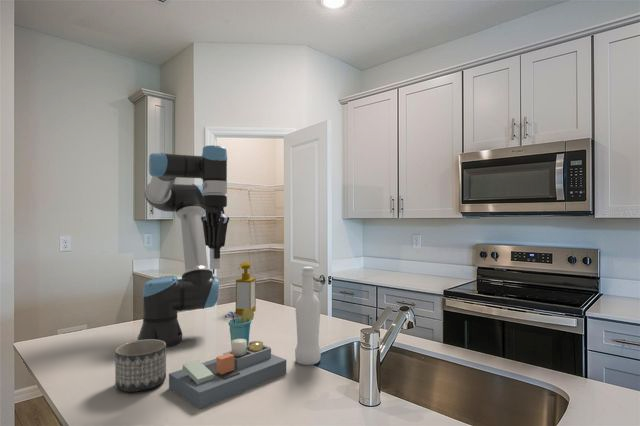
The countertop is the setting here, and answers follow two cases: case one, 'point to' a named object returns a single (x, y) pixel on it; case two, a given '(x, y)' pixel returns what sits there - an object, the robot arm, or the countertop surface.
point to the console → (228, 378)
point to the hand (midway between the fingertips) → (214, 268)
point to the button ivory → (239, 347)
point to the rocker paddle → (198, 371)
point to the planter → (140, 365)
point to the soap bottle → (245, 290)
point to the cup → (240, 325)
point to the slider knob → (224, 363)
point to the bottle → (307, 322)
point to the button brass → (255, 346)
